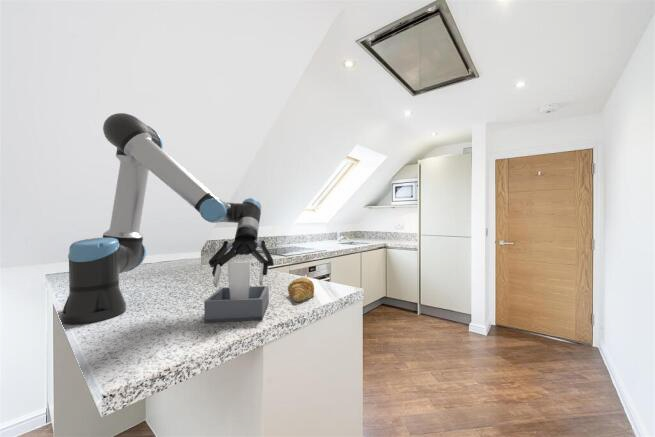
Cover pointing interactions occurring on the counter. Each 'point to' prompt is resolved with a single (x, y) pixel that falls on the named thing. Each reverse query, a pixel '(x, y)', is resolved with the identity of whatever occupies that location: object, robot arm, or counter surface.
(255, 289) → the bin
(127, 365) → the counter surface
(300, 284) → the croissant
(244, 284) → the white plastic tumbler
